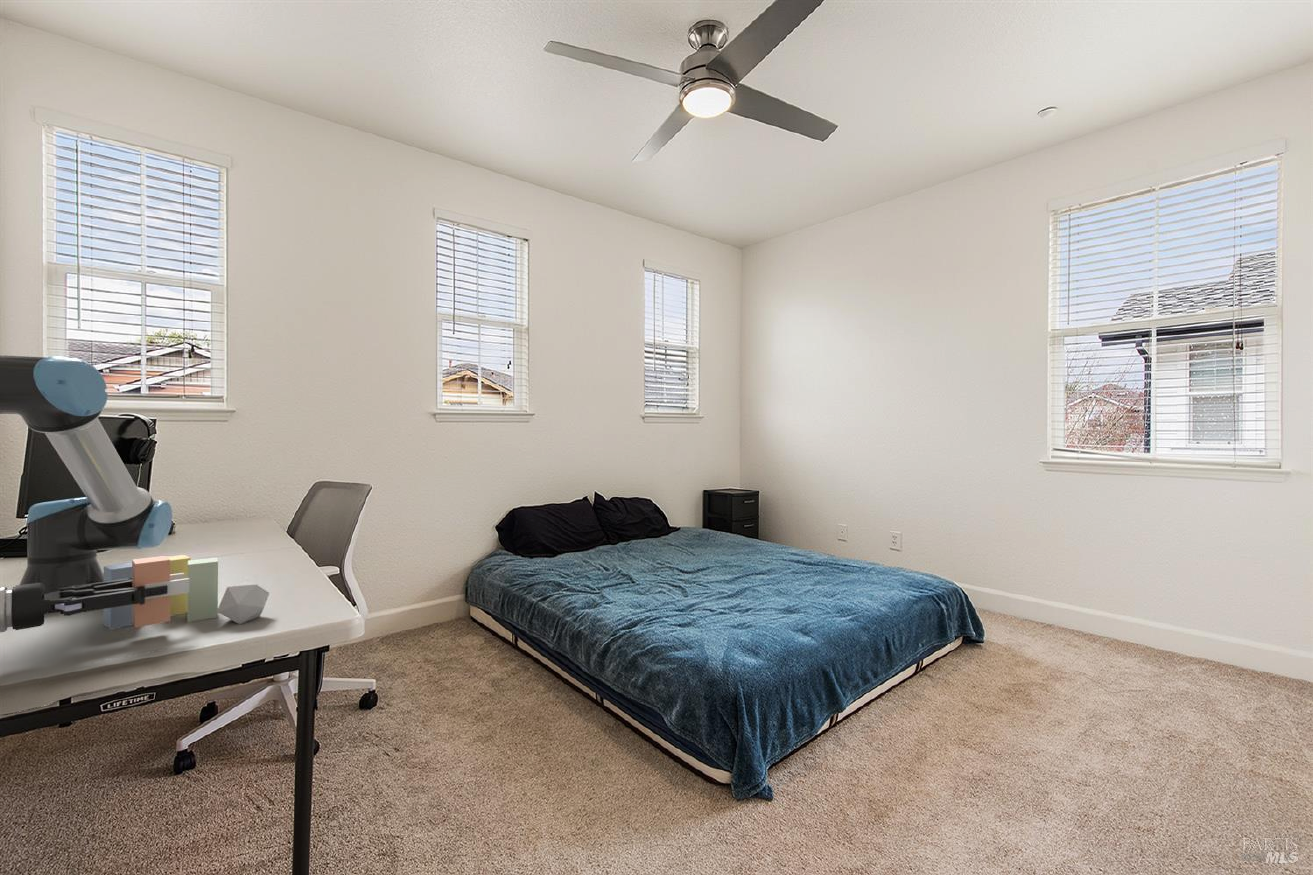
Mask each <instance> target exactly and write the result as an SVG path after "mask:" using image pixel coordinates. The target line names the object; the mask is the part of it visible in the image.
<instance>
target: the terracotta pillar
mask: <svg viewBox="0 0 1313 875" xmlns="http://www.w3.org/2000/svg"><path fill="white" fill-rule="evenodd" d="M168 557H169V556H167V555H160V556H152V557H143V558H134V559H133V558H132V561H131V562H132V587H139V586H144V584H151V583H158V582H165V581H170V559H169V558H168ZM132 622H133V624H134V625H133V626H134V628H141V627H145V626H152V625H158V624H163V623H168V622H171V616H170V596H164V597H157V598H151V599H145V604H142V605H140V603H139V604H132Z"/></svg>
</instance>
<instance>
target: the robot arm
mask: <svg viewBox="0 0 1313 875" xmlns="http://www.w3.org/2000/svg"><path fill="white" fill-rule="evenodd" d="M107 387H108V386H107V383H106V381H105V379H104V376H103V375H102V374H101V372H100V371H98V369H97V368H96V367H95V366H94V365H92V364H91V363H90V362H87V361H85V360H82V359H79V358H74V357H73V358H72V357H64V356H60V355H54V356H53V355H52V356H51V355H50V356H49V355H48V356H45V357H44V356H29V355H27V356H25V355H7V354H6V355H4V354H2V355H1V354H0V415H19V416H21V418H22V420H23V422H25V424H26V425H27V427H28V428H29V429H30V430H32V431H34V432H37V433H41V434H42V433H43V434H45V436H46V438H47V439H48V441H49V442H50V443H51V445H52V447H53V448H54V450H55V451H56V452H57V454H58V456H59V458H60V459H61V461H62V462H63V463H64V465H65V467H66V468H67V469H68V471H69V472H70V474H71V475H72V477H73V479H74V481H75V482H76V483H77V485H78V486H79V488H80V490H81V491H82V493H83V494H84V496H85V497H84V496H83V497H74V498H67V499H60V500H59V499H58V500H53V501H45V502H40V503H35V504H33V505H31V506H30V507H29V509H28V512H27V513H28V514H27V518H26V519H27V520H26V522H25V523H26V524H25V525H27V527H26V528H27V537H26V540H27V541H26V542H27V543H26V544H27V550H26V551H27V556H26V557H27V566H26V569H25V572H24V573H23V576H22V578H21V579H20V582H19V584H17V585H15V586H13V587H12V589H11V588H10V589H8V587H7V586H0V633H5V632H7V630H8V629H9V628H12V630H15V631H19V630H24V629H31V628H32V629H33V628H37V627H41V626H43V625H44V624H45V614H55V613H60V615H63V616H65V617H66V616H67V617H69V616H73V615H77V614H81V613H82V614H83V613H88V612H93V611H100V610H103V609H106V608H113V607H119V606H125V605H131V604H139V603H140V605H142V604H145V599H151V598H157V597H164V596H170V595H176V594H183V593H189V578H186V579H184V573H178V574H171V575H170V581H165V582H158V583H151V584H144V586H139V587H132V577H131V578H126V579H119V580H112V581H105V582H104V570H102V567H101V565H100V564H99V561H98V551H105V550H106V551H108V550H110V551H112V550H113V551H114V550H116V551H117V550H142V549H150V548H151V549H152V548H156V547H158V546H160V545H162V543H164V541H165V540H166V538H167V537H168V535H169V533H170V530H171V527H172V522H173V509H172V506H171V504H170V503H169V502H167V501H165V500H157V501H156V500H154V499H153V497H152V496H151V494H150V492H149V491H148V490H146V489H145V488H142V487H139V486H137V485H136V483H135V481H134V480H133V478H132V476H131V474H130V472H129V471H128V468H127V467H126V465H125V464H124V462H123V460H122V458H121V457H120V455H119V453H118V452H117V449H116V448H115V446H114V444H113V443H112V440H111V439H110V437H109V435H108V433H107V432H106V430H105V429H104V426H103V424H102V422H101V421H100V419H99V418H100V416H101V415H102V413H103V409H104V408H105V406H106V404H107V400H108V392H106V390H107V389H108V388H107Z"/></svg>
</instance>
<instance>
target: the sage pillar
mask: <svg viewBox="0 0 1313 875" xmlns="http://www.w3.org/2000/svg"><path fill="white" fill-rule="evenodd" d="M188 578H189V593H188V613H187V616H186V617H187V618H186V619H187V623H188V622H189V623H190V622H196V621H202V620H210V619H214V618H215V619H217V618H218V615H219V613H218V612H217V610H218V607H219V606H218V603H219V602H218V601H219V598H218V597H219V560H218V557H210V558H200V559H198V558H197V559H191V560H188Z"/></svg>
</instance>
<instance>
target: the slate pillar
mask: <svg viewBox="0 0 1313 875" xmlns="http://www.w3.org/2000/svg"><path fill="white" fill-rule="evenodd" d="M103 573H104V582H105V581H112V580H119V579H126V578H131V577H132V561H131V562H125V563H117V564H112V565H111V564H109V565H104V566H103ZM102 610H103V611H102V612H103V620H102V621H103V626H105V627H107V628H109V629H111V630H113V629H118V628H123V627H124V628H125V627H128V626H134V624H133V622H132V604H131V605H125V606H119V607H113V608H106V609H102Z"/></svg>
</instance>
